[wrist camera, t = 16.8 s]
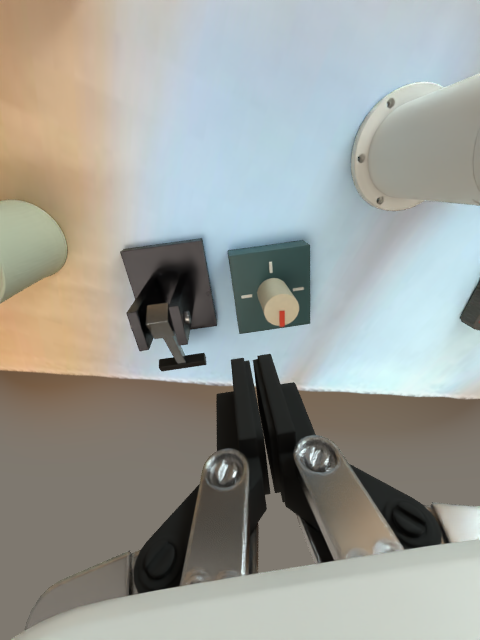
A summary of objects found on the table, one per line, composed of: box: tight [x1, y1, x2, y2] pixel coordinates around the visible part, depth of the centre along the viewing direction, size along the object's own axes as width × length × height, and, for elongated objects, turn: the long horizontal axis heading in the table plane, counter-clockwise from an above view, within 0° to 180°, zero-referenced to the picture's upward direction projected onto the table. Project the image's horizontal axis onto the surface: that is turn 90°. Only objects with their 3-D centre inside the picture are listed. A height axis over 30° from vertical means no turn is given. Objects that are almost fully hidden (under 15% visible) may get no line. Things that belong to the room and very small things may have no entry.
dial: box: [257, 278, 299, 327], centre depth 33 cm, size 4×4×6 cm
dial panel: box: [228, 240, 310, 334], centre depth 37 cm, size 10×11×3 cm
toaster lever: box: [146, 303, 206, 371], centre depth 32 cm, size 12×6×2 cm, turn 7°
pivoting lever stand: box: [120, 238, 217, 351], centre depth 32 cm, size 12×10×12 cm
